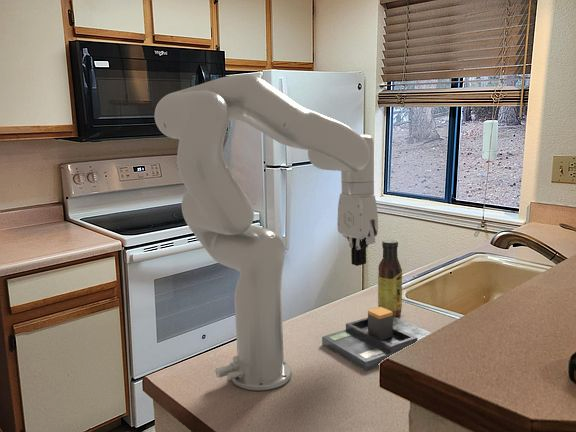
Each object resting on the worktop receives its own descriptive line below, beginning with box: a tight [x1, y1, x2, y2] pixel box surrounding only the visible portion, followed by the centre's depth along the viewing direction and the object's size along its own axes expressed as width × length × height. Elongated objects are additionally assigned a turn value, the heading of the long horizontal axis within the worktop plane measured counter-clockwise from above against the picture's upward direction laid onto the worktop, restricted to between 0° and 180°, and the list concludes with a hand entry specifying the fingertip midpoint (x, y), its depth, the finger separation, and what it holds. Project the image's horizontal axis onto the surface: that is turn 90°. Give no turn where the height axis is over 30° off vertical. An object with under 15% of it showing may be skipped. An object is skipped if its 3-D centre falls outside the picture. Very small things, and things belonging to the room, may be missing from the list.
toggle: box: [367, 307, 393, 340], centre depth 122 cm, size 4×4×6 cm
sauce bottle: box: [377, 239, 403, 317], centre depth 140 cm, size 7×6×20 cm
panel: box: [321, 316, 432, 372], centre depth 123 cm, size 22×16×4 cm
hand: (358, 263), depth 127 cm, fingers closed
